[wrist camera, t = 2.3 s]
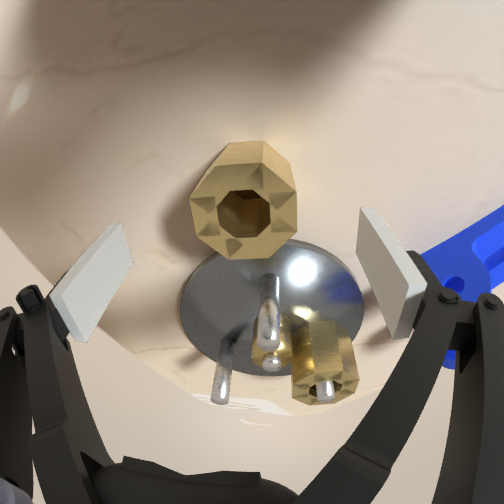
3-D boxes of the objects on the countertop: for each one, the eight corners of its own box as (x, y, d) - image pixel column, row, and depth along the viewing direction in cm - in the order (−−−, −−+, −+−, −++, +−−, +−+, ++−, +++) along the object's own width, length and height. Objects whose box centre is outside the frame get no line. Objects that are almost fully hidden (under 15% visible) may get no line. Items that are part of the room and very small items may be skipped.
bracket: (415, 316, 29) (441, 381, 21) (397, 265, 26) (433, 336, 18) (530, 245, 23) (571, 291, 15) (527, 187, 19) (582, 229, 12)
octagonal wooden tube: (205, 145, 21) (183, 169, 16) (288, 139, 20) (295, 160, 15) (215, 218, 24) (201, 260, 19) (291, 214, 23) (297, 257, 18)
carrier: (163, 243, 25) (129, 306, 18) (373, 233, 24) (407, 297, 17) (202, 367, 35) (191, 424, 28) (348, 363, 33) (358, 421, 26)
